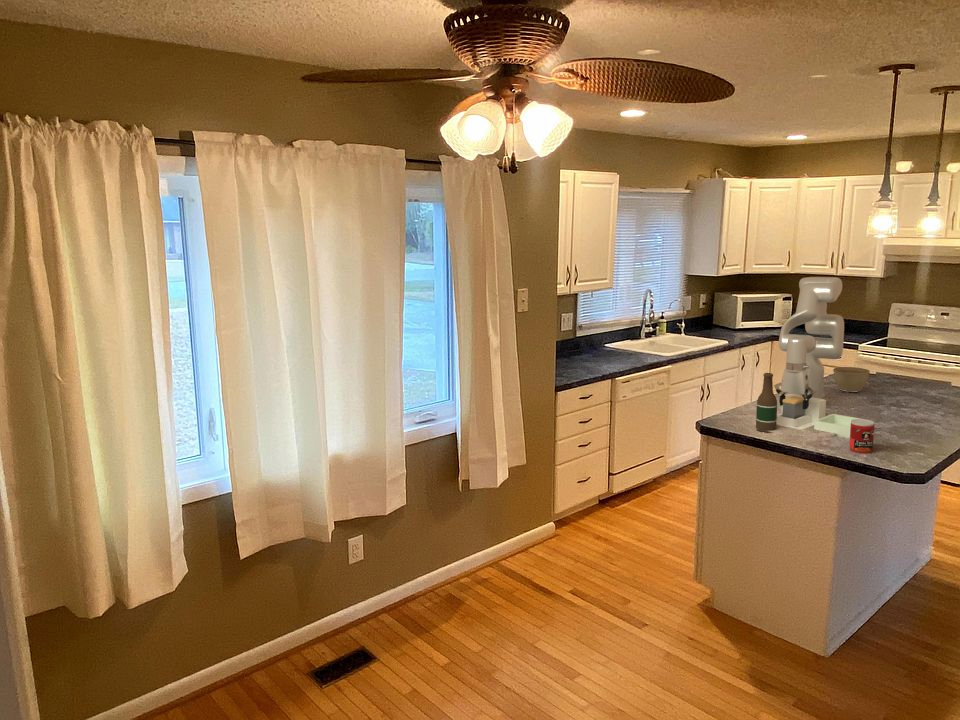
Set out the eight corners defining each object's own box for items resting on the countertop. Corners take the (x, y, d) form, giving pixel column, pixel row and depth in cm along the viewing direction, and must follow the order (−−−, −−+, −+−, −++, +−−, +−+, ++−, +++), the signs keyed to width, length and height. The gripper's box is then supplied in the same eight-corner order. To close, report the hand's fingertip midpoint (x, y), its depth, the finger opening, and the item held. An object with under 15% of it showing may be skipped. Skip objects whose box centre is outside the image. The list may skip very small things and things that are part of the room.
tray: (832, 424, 288) (832, 413, 287) (867, 430, 277) (868, 419, 277) (813, 431, 278) (814, 420, 277) (849, 438, 267) (850, 427, 267)
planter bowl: (825, 390, 348) (826, 369, 346) (845, 386, 355) (846, 365, 354) (855, 396, 334) (856, 374, 332) (875, 391, 341) (877, 370, 340)
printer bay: (788, 415, 303) (789, 393, 301) (824, 422, 290) (826, 399, 289) (764, 424, 290) (765, 401, 289) (801, 432, 278) (803, 408, 276)
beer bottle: (780, 431, 280) (783, 373, 276) (767, 434, 276) (770, 376, 272) (764, 426, 287) (766, 370, 283) (751, 429, 283) (753, 373, 279)
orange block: (792, 418, 294) (793, 396, 292) (804, 421, 290) (805, 398, 288) (781, 422, 288) (782, 399, 287) (793, 425, 284) (794, 401, 283)
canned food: (853, 453, 250) (855, 424, 248) (845, 446, 258) (847, 418, 256) (876, 454, 249) (878, 424, 247) (867, 447, 256) (869, 418, 255)
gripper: (821, 368, 281) (818, 409, 283) (780, 363, 294) (778, 402, 297) (812, 370, 276) (809, 412, 279) (771, 365, 289) (769, 405, 292)
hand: (793, 407), depth 288 cm, fingers open, 9 cm apart
